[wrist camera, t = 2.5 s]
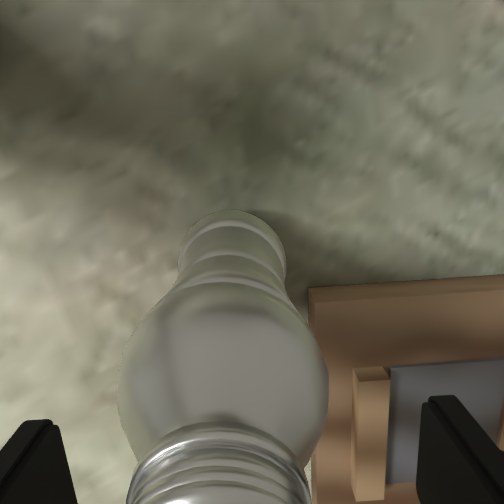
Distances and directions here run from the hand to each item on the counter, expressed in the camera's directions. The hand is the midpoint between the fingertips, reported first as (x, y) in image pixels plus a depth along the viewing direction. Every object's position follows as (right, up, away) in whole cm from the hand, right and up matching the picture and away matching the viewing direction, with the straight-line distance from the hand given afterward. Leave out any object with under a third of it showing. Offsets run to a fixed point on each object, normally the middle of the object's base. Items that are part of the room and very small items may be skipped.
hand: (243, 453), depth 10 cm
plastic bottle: (-1, +5, +16) cm, 17 cm away
